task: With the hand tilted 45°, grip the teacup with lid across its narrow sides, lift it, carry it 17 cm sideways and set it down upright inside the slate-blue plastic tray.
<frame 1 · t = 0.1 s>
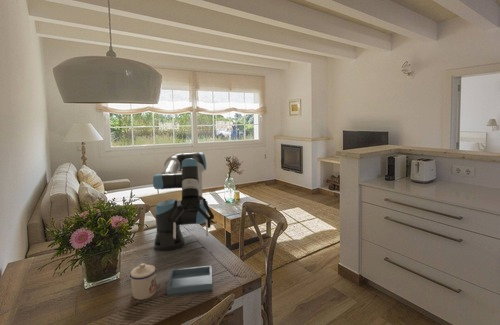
hand: (191, 237, 117), 15 cm above the table, tool tilted 35°, fingers open, 13 cm apart
teacup with lid: (145, 291, 106), on the table
slate tray: (191, 283, 110), on the table
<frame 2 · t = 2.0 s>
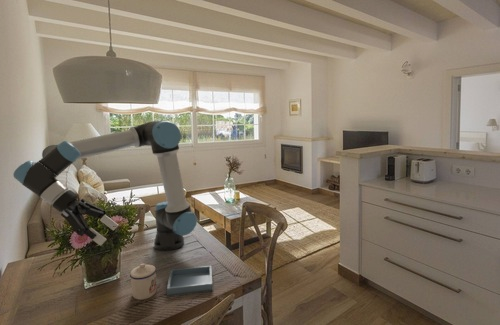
hand: (110, 234, 101), 24 cm above the table, tool tilted 45°, fingers open, 13 cm apart
nothing on the table moved.
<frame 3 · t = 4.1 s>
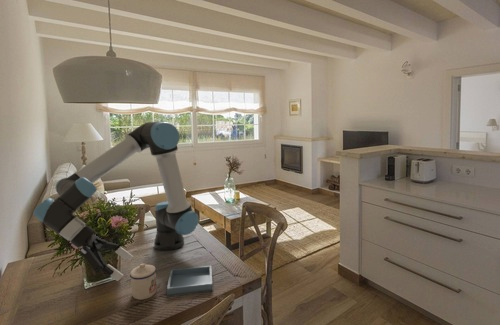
hand: (126, 268, 103), 10 cm above the table, tool tilted 45°, fingers open, 13 cm apart
nothing on the table moved.
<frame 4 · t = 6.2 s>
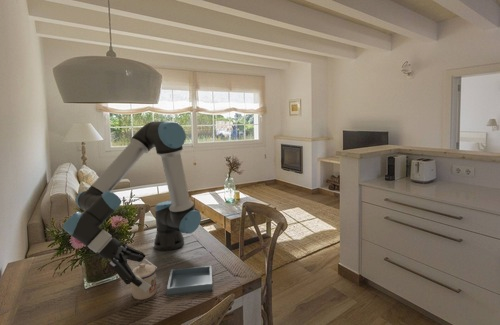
hand: (151, 279, 106), 4 cm above the table, tool tilted 45°, fingers closed on teacup with lid, 12 cm apart
teacup with lid: (145, 291, 106), on the table, touching gripper
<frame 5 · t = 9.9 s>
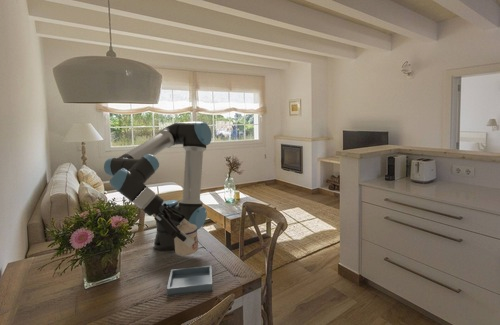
hand: (193, 237, 107), 19 cm above the table, tool tilted 45°, fingers closed on teacup with lid, 12 cm apart
teacup with lid: (187, 249, 108), point 15 cm above the table, touching gripper
when the fingers open (7 cm above the table, at t = 13.7 s): teacup with lid drops 1 cm, resting on slate tray.
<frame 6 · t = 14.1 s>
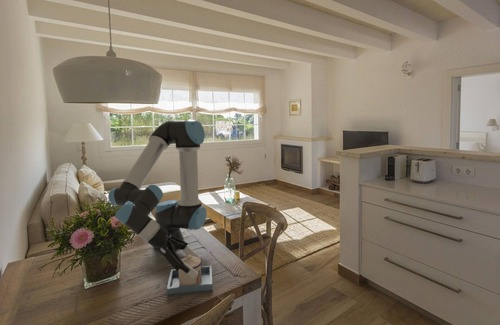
hand: (196, 266, 109), 7 cm above the table, tool tilted 45°, fingers open, 13 cm apart
teacup with lid: (190, 281, 110), point 1 cm above the table, touching slate tray
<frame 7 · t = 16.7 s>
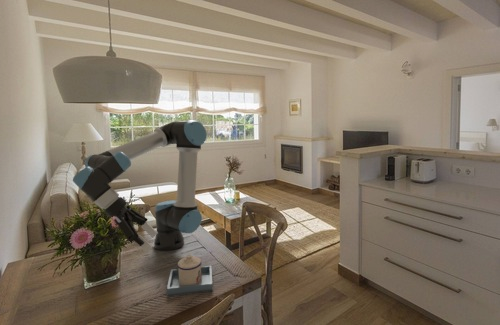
hand: (152, 242, 107), 18 cm above the table, tool tilted 40°, fingers open, 13 cm apart
nothing on the table moved.
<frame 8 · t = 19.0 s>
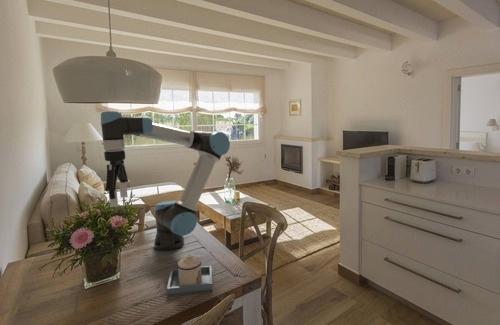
hand: (119, 201, 114), 32 cm above the table, tool pointing down, fingers open, 13 cm apart
nothing on the table moved.
at the end: teacup with lid inside the target area on the slate tray (0.0 cm from its centre), point 0.6 cm above the slate tray's base; teacup with lid tilted 0°; the gripper is holding nothing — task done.
